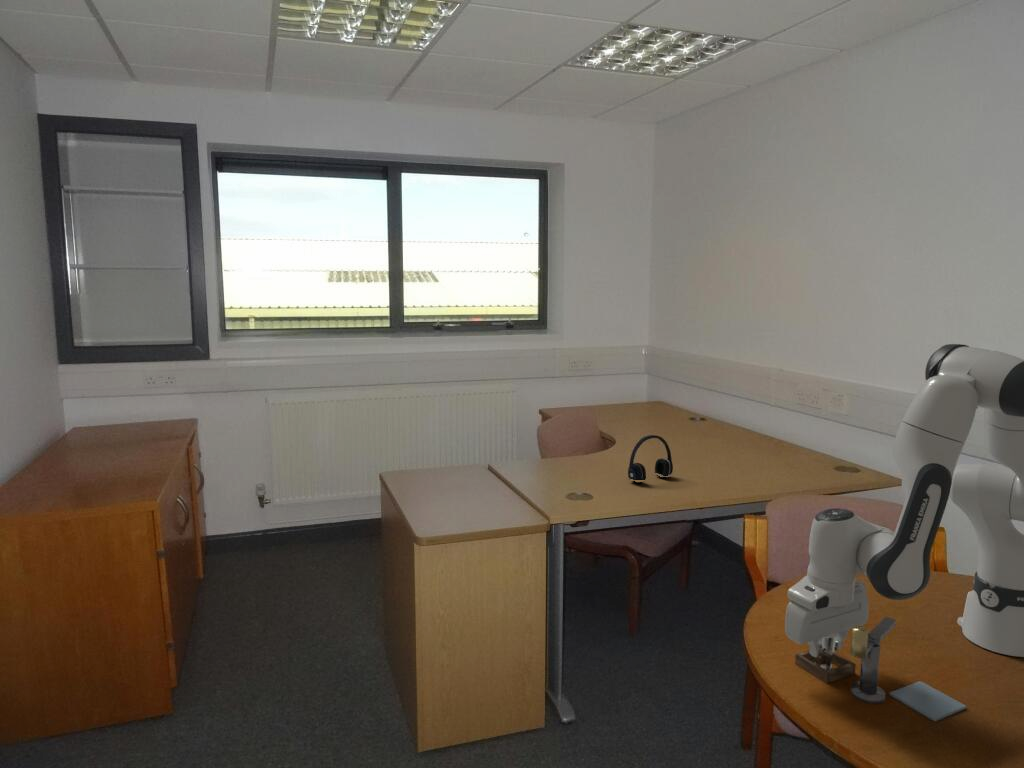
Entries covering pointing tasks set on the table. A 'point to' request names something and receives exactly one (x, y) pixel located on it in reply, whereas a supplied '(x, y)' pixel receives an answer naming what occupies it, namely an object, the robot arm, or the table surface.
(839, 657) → the brown square frame
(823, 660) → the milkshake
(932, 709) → the pad
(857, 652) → the lever
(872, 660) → the latch post
